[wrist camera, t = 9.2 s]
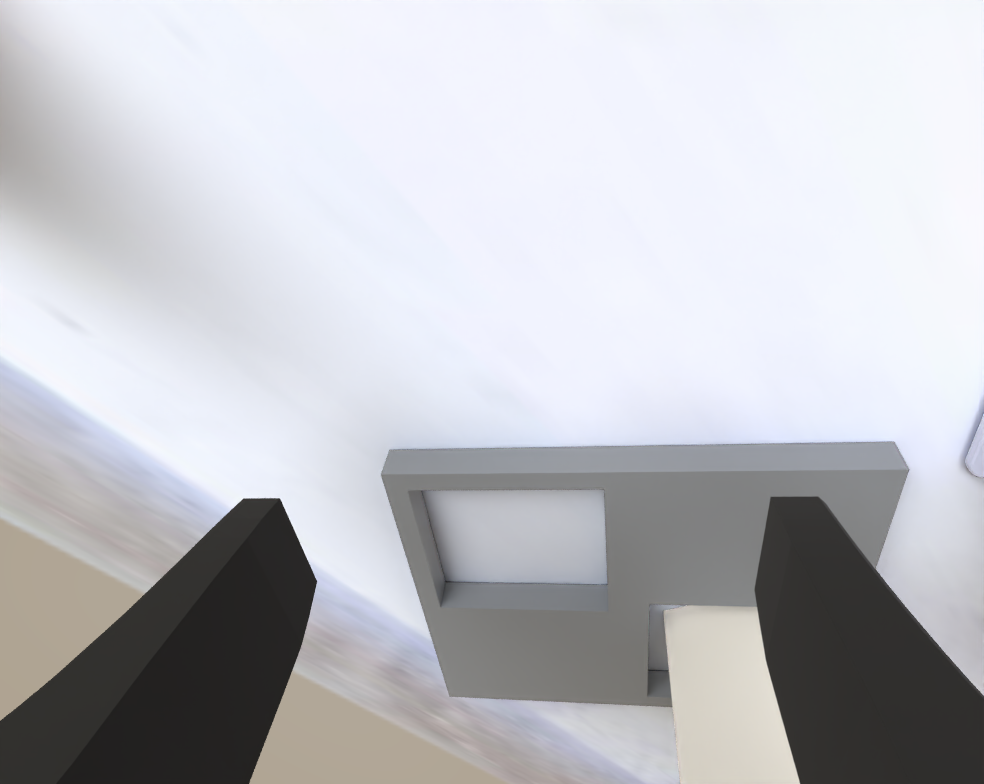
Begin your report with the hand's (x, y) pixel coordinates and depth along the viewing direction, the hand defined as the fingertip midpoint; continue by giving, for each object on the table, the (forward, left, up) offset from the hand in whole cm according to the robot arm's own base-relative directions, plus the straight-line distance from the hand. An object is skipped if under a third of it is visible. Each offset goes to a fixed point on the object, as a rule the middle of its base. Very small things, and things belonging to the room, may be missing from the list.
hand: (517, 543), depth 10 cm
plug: (-6, +17, -10) cm, 21 cm away
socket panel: (-2, +14, -10) cm, 17 cm away
